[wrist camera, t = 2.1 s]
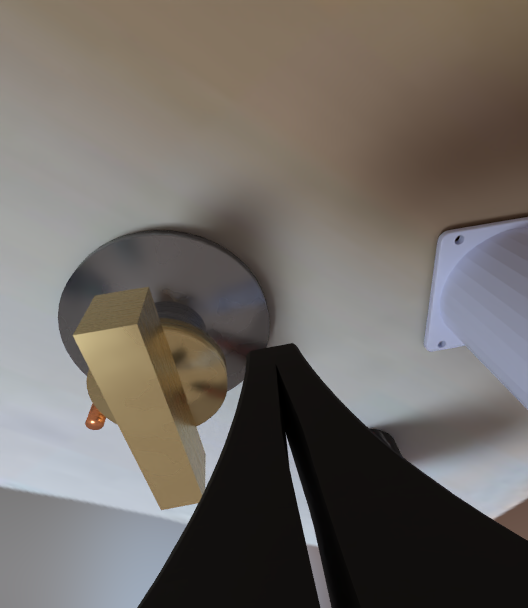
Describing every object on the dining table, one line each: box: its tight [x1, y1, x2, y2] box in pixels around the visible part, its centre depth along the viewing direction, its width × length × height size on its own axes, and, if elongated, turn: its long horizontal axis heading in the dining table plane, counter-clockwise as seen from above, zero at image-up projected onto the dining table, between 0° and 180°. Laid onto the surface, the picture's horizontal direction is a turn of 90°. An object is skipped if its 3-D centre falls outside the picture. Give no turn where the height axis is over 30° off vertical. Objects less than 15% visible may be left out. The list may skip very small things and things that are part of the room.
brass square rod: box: [73, 287, 227, 510], centre depth 15 cm, size 6×10×4 cm, turn 7°
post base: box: [58, 230, 270, 430], centre depth 18 cm, size 11×11×5 cm
